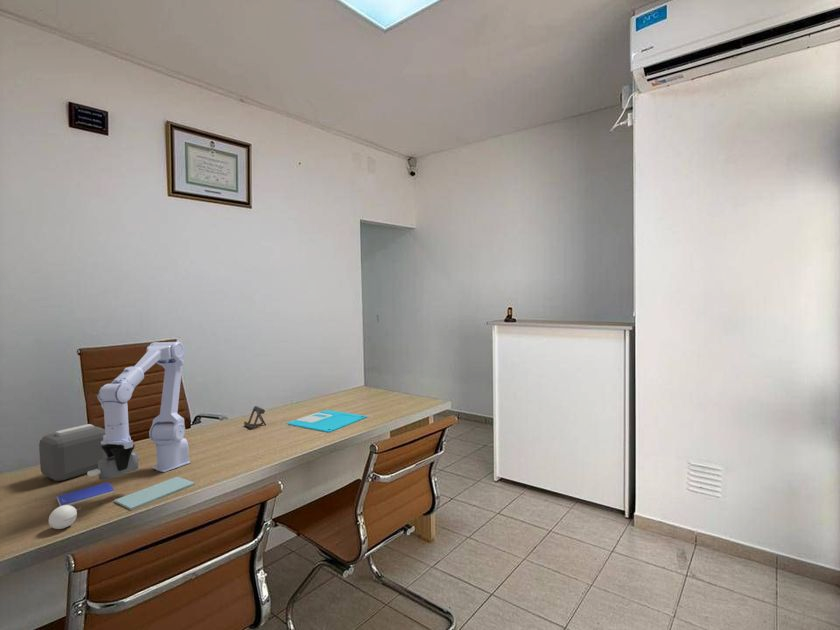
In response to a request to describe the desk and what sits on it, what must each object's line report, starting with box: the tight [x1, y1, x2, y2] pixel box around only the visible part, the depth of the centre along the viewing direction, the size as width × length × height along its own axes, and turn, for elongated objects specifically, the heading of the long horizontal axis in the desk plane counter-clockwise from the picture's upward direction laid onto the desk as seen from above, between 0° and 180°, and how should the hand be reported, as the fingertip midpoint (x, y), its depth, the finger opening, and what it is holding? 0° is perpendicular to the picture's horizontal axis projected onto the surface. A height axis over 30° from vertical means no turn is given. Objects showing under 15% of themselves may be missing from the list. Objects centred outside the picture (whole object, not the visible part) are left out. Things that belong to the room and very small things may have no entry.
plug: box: [86, 450, 139, 481], centre depth 122 cm, size 12×4×5 cm, turn 148°
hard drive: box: [56, 481, 115, 507], centre depth 124 cm, size 2×8×12 cm
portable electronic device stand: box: [243, 405, 267, 430], centre depth 191 cm, size 9×8×8 cm
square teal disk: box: [286, 409, 368, 434], centre depth 196 cm, size 26×28×1 cm
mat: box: [113, 476, 196, 511], centre depth 124 cm, size 18×10×1 cm, turn 149°
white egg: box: [48, 505, 80, 530], centre depth 107 cm, size 8×6×6 cm
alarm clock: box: [38, 423, 108, 482], centre depth 142 cm, size 16×11×16 cm
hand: (119, 468), depth 123 cm, fingers closed on plug, 4 cm apart
